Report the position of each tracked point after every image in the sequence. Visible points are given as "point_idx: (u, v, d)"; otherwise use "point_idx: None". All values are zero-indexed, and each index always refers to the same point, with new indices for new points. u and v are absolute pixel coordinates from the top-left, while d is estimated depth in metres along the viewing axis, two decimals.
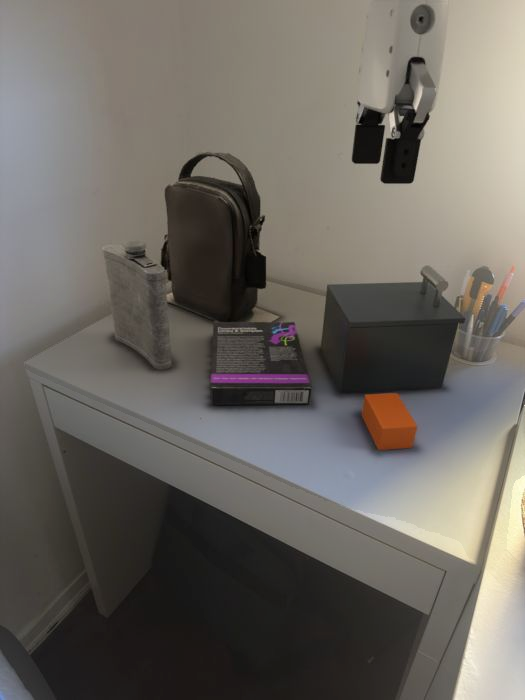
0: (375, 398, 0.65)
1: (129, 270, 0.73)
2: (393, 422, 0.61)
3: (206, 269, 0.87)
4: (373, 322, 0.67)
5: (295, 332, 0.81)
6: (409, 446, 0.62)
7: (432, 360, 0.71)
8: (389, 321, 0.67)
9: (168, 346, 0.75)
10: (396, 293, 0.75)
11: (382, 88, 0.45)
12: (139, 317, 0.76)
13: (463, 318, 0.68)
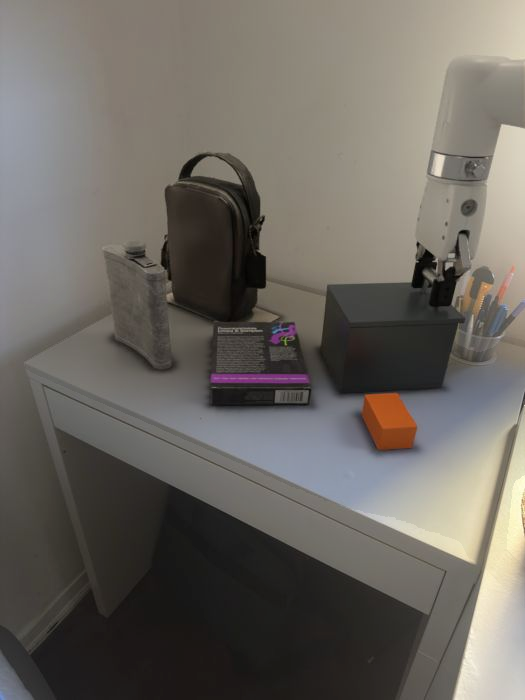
0: (375, 398, 0.65)
1: (128, 270, 0.73)
2: (393, 422, 0.61)
3: (206, 269, 0.87)
4: (373, 322, 0.67)
5: (295, 332, 0.81)
6: (409, 446, 0.62)
7: (432, 360, 0.71)
8: (389, 321, 0.67)
9: (168, 346, 0.75)
10: (396, 293, 0.75)
11: (438, 245, 0.65)
12: (139, 317, 0.76)
13: (463, 318, 0.68)
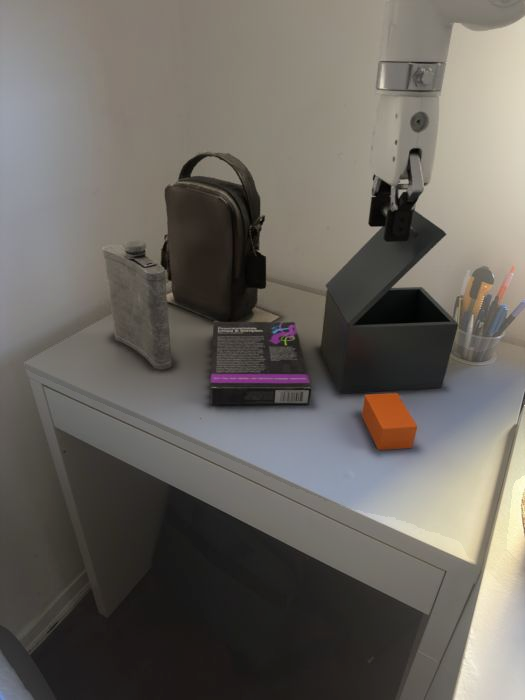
0: (375, 398, 0.65)
1: (129, 270, 0.73)
2: (393, 422, 0.61)
3: (206, 269, 0.87)
4: (366, 306, 0.65)
5: (295, 332, 0.81)
6: (409, 446, 0.62)
7: (432, 360, 0.71)
8: (378, 294, 0.65)
9: (168, 346, 0.75)
10: (379, 247, 0.71)
11: (390, 168, 0.59)
12: (139, 317, 0.76)
13: (441, 232, 0.61)
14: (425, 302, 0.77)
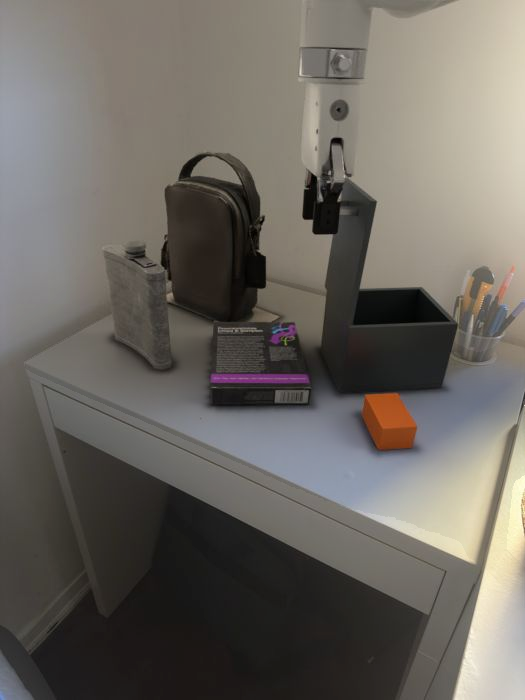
0: (375, 398, 0.65)
1: (129, 270, 0.73)
2: (393, 422, 0.61)
3: (206, 269, 0.87)
4: (352, 302, 0.65)
5: (295, 332, 0.81)
6: (409, 446, 0.62)
7: (432, 360, 0.71)
8: (354, 286, 0.64)
9: (168, 346, 0.75)
10: (341, 234, 0.69)
11: (313, 158, 0.58)
12: (139, 317, 0.76)
13: (370, 203, 0.58)
14: (425, 302, 0.77)
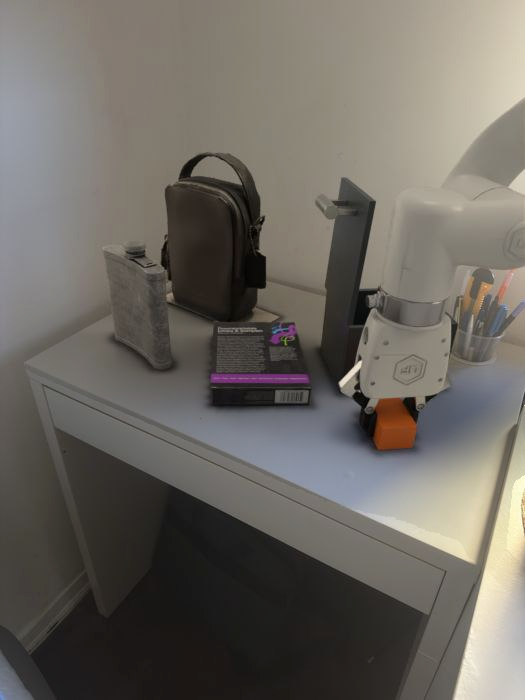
0: None
1: (129, 270, 0.73)
2: (393, 422, 0.61)
3: (206, 269, 0.87)
4: (351, 302, 0.65)
5: (295, 332, 0.81)
6: (409, 446, 0.62)
7: None
8: (354, 286, 0.64)
9: (168, 346, 0.75)
10: (341, 234, 0.69)
11: None
12: (139, 317, 0.76)
13: (369, 203, 0.58)
14: None
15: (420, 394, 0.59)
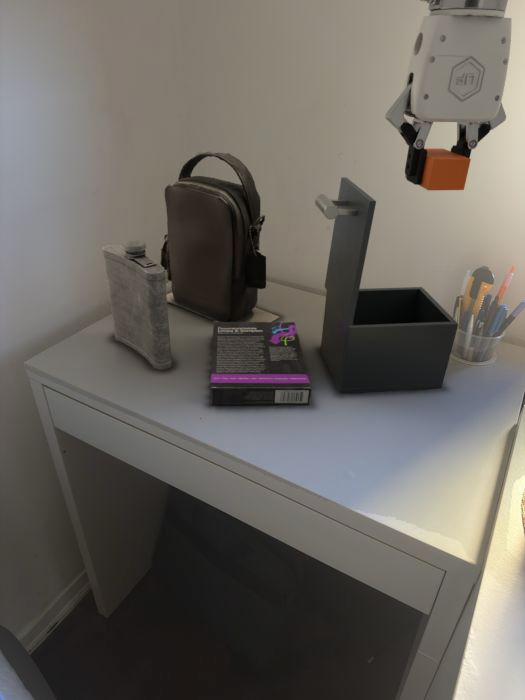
0: None
1: (129, 270, 0.73)
2: (445, 157, 0.57)
3: (206, 269, 0.87)
4: (351, 302, 0.65)
5: (295, 332, 0.81)
6: (460, 187, 0.58)
7: (432, 360, 0.71)
8: (354, 286, 0.64)
9: (168, 346, 0.75)
10: (341, 234, 0.69)
11: None
12: (139, 317, 0.76)
13: (369, 203, 0.58)
14: (425, 302, 0.77)
15: (475, 116, 0.55)
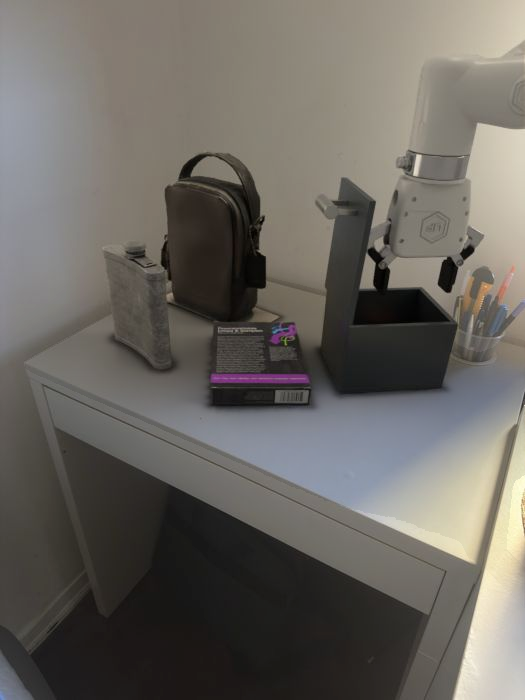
0: None
1: (129, 270, 0.73)
2: None
3: (206, 269, 0.87)
4: (351, 302, 0.65)
5: (295, 332, 0.81)
6: None
7: (432, 360, 0.71)
8: (354, 286, 0.64)
9: (168, 346, 0.75)
10: (341, 234, 0.69)
11: None
12: (139, 317, 0.76)
13: (369, 203, 0.58)
14: (425, 302, 0.77)
15: (443, 253, 0.67)
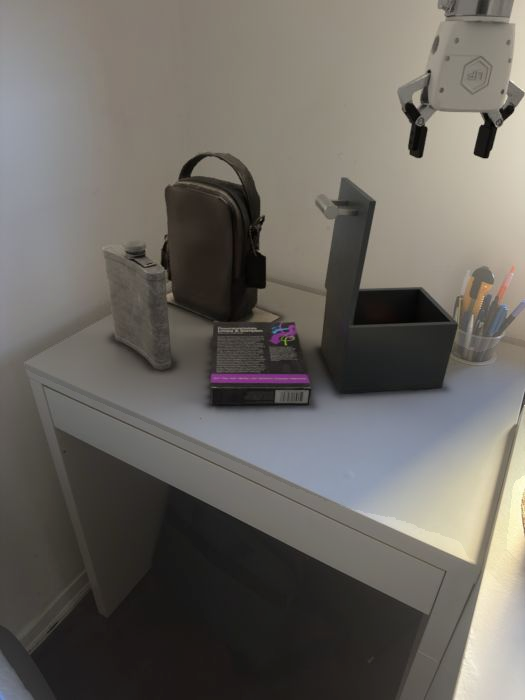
0: None
1: (129, 270, 0.73)
2: None
3: (206, 269, 0.87)
4: (351, 302, 0.65)
5: (295, 332, 0.81)
6: None
7: (432, 360, 0.71)
8: (354, 286, 0.64)
9: (168, 346, 0.75)
10: (341, 234, 0.69)
11: None
12: (139, 317, 0.76)
13: (369, 203, 0.58)
14: (425, 302, 0.77)
15: (483, 107, 0.64)
